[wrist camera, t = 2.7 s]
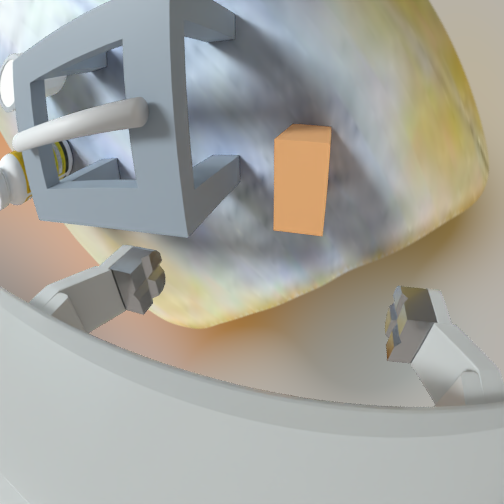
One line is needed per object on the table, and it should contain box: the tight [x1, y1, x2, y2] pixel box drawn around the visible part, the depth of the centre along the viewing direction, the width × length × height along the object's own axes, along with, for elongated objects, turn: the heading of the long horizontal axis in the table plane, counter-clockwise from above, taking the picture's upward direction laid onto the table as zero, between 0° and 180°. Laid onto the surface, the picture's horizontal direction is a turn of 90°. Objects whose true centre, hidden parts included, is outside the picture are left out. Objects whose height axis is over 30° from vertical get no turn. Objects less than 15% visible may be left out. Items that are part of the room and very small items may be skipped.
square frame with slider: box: [12, 0, 240, 238], centre depth 18 cm, size 15×16×12 cm
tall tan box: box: [273, 124, 331, 236], centre depth 19 cm, size 6×3×8 cm, turn 2°
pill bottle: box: [0, 140, 73, 210], centre depth 24 cm, size 6×6×11 cm
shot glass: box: [0, 53, 67, 112], centre depth 19 cm, size 7×7×7 cm
